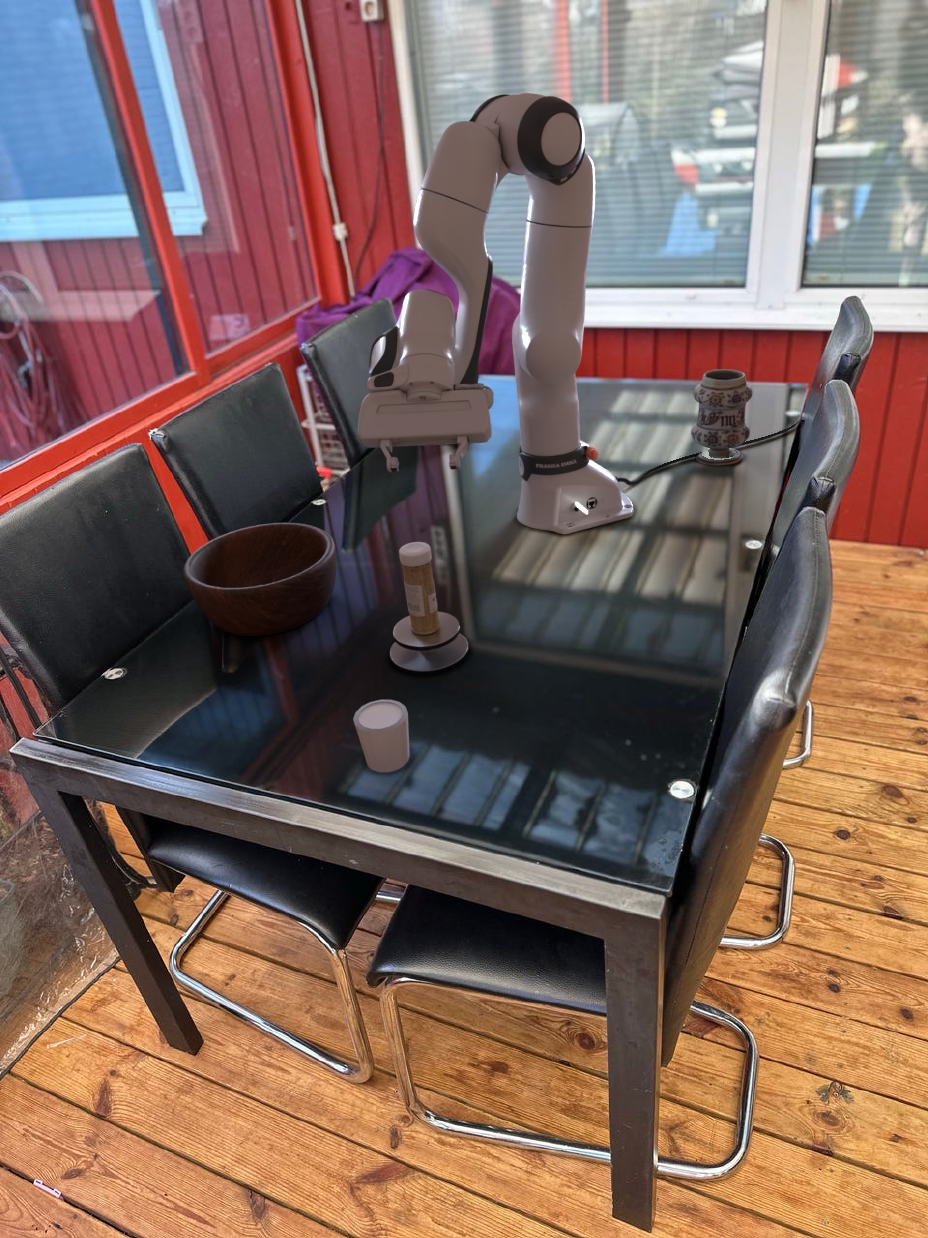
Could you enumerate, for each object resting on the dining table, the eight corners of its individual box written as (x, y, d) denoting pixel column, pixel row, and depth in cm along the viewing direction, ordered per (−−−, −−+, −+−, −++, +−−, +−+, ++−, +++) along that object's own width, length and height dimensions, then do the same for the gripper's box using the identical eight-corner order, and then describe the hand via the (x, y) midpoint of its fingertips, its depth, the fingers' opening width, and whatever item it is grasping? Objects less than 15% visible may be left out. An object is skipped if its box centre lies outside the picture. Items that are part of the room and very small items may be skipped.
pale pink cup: (362, 744, 117) (353, 702, 114) (413, 738, 117) (406, 695, 114) (360, 779, 111) (352, 735, 108) (415, 772, 111) (408, 728, 108)
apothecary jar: (755, 451, 192) (762, 368, 183) (737, 470, 183) (743, 384, 174) (701, 444, 198) (705, 364, 189) (681, 463, 190) (684, 380, 180)
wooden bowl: (275, 661, 137) (261, 603, 132) (166, 627, 149) (150, 573, 144) (373, 588, 154) (364, 534, 149) (268, 562, 167) (257, 513, 162)
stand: (460, 626, 141) (458, 602, 138) (475, 666, 131) (473, 641, 128) (386, 639, 139) (382, 615, 137) (395, 681, 129) (391, 656, 127)
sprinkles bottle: (446, 628, 132) (436, 547, 125) (420, 639, 130) (408, 558, 123) (430, 616, 135) (420, 537, 129) (404, 627, 134) (392, 547, 127)
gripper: (495, 393, 137) (495, 475, 134) (366, 400, 140) (362, 480, 136) (491, 371, 131) (490, 456, 128) (357, 379, 134) (352, 462, 130)
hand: (423, 469), depth 132 cm, fingers open, 8 cm apart
